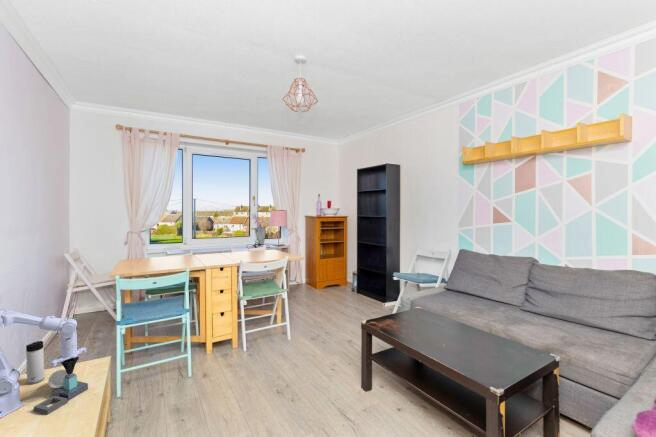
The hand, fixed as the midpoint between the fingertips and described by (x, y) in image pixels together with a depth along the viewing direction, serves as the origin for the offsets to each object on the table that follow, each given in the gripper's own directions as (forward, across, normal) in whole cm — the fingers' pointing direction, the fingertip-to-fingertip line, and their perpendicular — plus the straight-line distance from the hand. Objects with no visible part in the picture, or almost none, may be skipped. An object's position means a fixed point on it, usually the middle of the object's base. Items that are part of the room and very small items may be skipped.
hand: (69, 373), depth 145 cm
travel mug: (+10, +2, +26) cm, 28 cm away
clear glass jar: (+7, +4, +13) cm, 15 cm away
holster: (+10, -10, -2) cm, 14 cm away
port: (+10, 0, 0) cm, 10 cm away
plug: (+10, 0, 0) cm, 10 cm away
